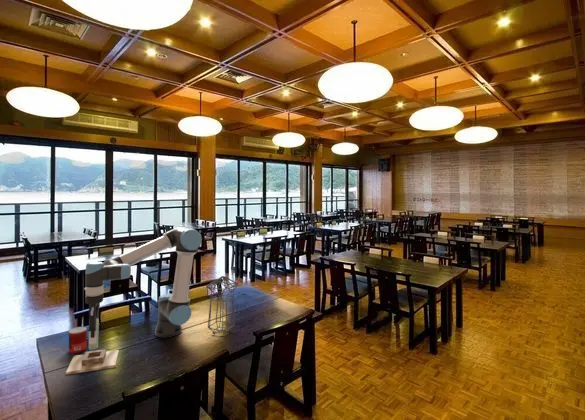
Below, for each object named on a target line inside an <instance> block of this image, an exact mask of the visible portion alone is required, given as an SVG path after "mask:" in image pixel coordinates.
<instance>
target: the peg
mask: <svg viewBox="0 0 585 420" xmlns="http://www.w3.org/2000/svg"><path fill="white" fill-rule="evenodd" d="M99 322H100V321H99V319H98V318H96V343H95V344H90V331H88V350H89V351H95V350H98V348H99V326H100V325H99Z"/></svg>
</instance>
